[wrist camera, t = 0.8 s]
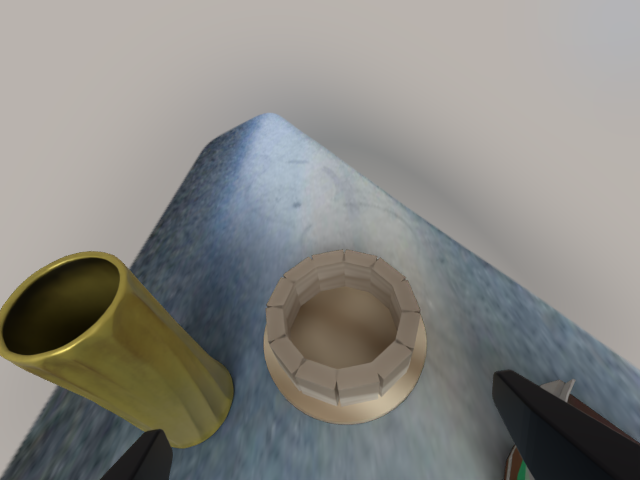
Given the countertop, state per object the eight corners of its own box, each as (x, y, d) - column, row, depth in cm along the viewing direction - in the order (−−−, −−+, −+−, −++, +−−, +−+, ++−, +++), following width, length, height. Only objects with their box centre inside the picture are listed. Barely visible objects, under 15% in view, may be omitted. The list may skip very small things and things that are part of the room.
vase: (146, 460, 22) (-55, 394, 12) (155, 370, 26) (12, 259, 16) (236, 435, 23) (124, 349, 12) (232, 350, 27) (145, 229, 16)
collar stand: (407, 454, 21) (416, 440, 18) (238, 388, 25) (218, 366, 21) (435, 292, 28) (445, 260, 25) (301, 260, 32) (294, 228, 29)
